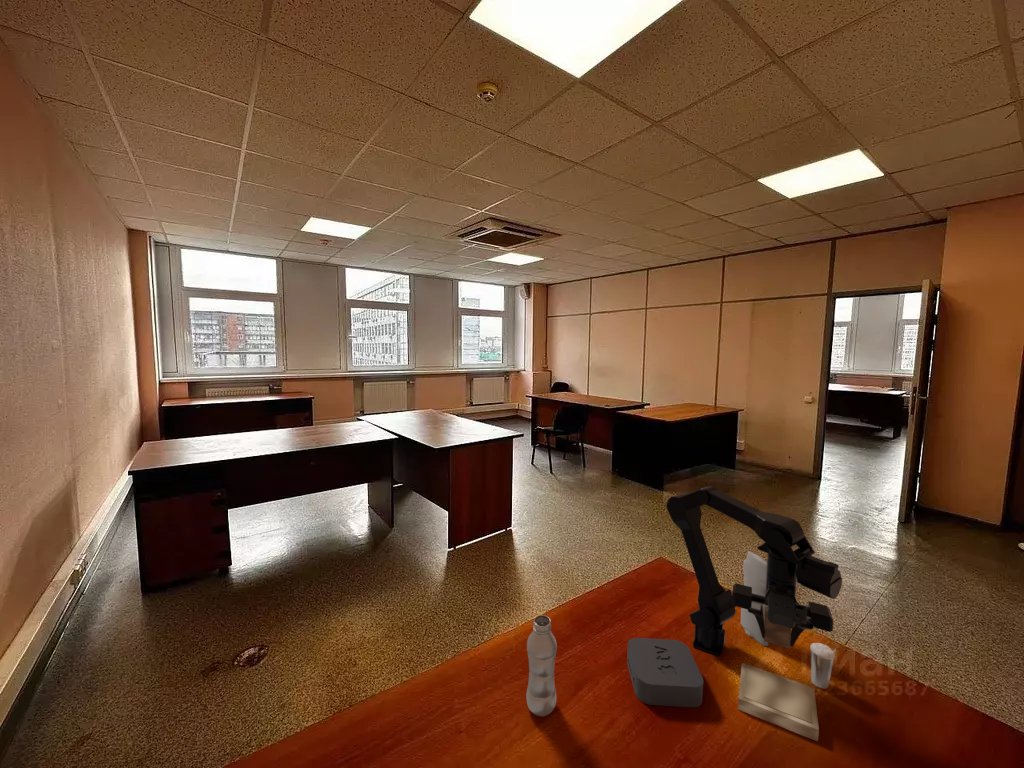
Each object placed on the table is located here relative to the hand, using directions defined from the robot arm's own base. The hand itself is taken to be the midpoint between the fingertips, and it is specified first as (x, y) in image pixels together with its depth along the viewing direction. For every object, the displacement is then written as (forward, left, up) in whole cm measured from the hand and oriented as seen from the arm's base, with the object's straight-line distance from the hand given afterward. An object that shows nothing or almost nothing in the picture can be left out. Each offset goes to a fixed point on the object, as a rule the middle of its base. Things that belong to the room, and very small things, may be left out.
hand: (777, 641), depth 96 cm
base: (0, -5, -11) cm, 12 cm away
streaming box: (-22, -11, -12) cm, 27 cm away
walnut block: (0, +3, -1) cm, 3 cm away
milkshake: (+9, +7, -11) cm, 16 cm away
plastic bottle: (-43, -33, -11) cm, 55 cm away
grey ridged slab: (-5, +18, -11) cm, 22 cm away
